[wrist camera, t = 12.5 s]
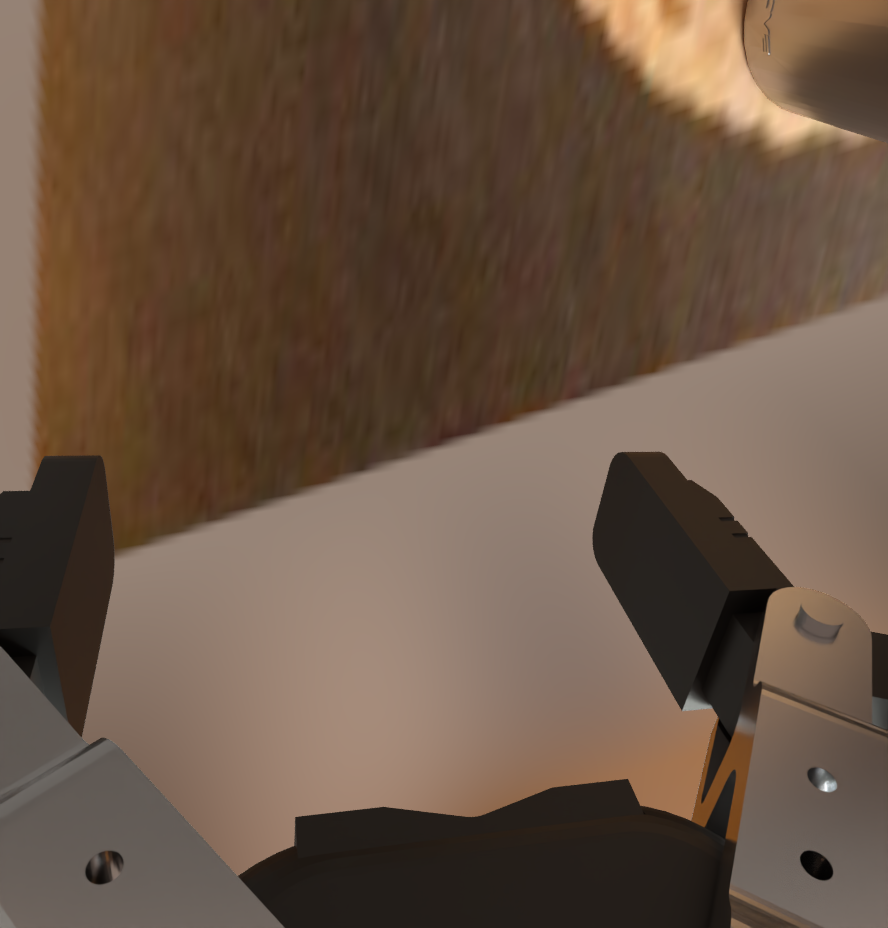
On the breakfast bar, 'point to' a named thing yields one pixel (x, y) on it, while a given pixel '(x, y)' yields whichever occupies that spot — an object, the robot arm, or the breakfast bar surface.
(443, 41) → the breakfast bar surface
